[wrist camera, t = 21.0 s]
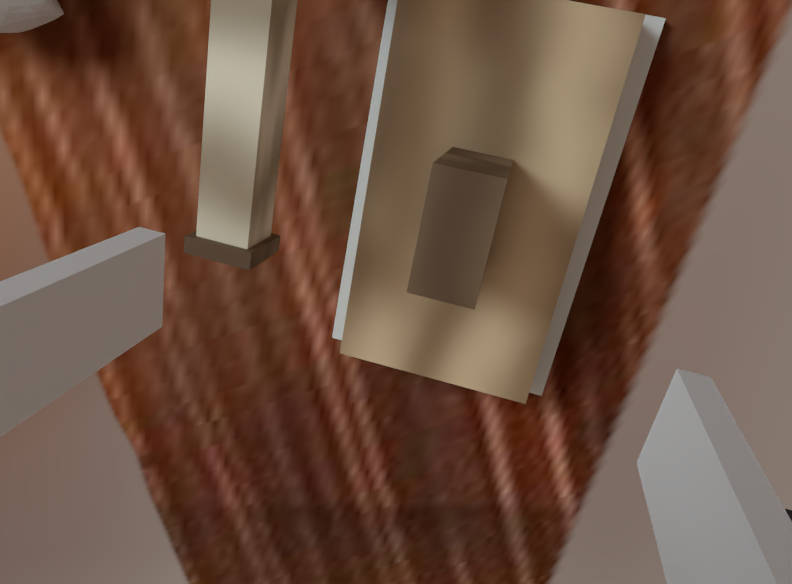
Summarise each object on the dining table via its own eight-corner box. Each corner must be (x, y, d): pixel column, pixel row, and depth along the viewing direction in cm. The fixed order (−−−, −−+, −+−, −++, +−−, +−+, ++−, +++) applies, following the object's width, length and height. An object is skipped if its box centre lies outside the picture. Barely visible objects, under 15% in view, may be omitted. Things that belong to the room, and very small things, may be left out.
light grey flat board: (395, -31, 31) (393, -32, 31) (663, 19, 30) (665, 18, 29) (334, 334, 40) (332, 337, 39) (541, 391, 38) (541, 395, 37)
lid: (351, 337, 39) (301, 406, 31) (412, -21, 31) (366, -57, 23) (526, 383, 37) (523, 470, 29) (637, 19, 29) (676, -5, 21)
